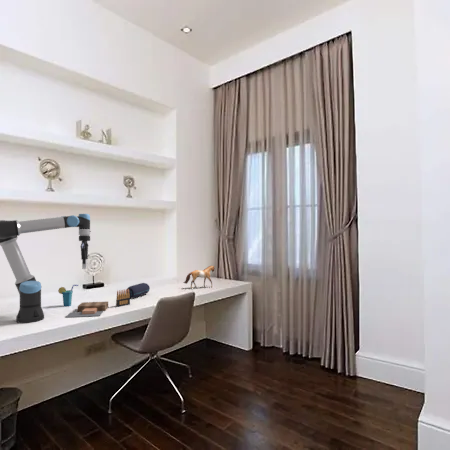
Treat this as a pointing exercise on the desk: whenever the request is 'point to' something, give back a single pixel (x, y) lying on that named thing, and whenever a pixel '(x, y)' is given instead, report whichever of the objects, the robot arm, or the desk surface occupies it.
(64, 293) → the cup
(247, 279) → the desk surface
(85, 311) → the coaster
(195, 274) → the horse figurine
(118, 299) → the ammunition clip
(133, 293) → the portable speaker
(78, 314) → the mat
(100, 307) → the deck
